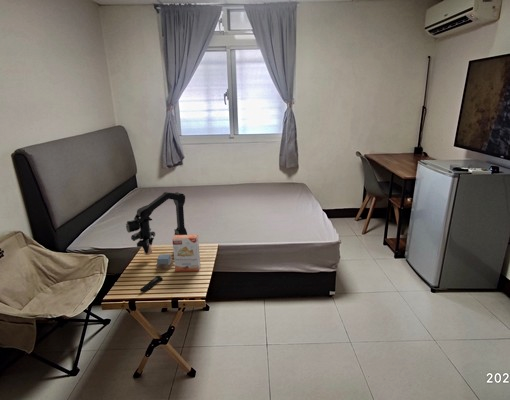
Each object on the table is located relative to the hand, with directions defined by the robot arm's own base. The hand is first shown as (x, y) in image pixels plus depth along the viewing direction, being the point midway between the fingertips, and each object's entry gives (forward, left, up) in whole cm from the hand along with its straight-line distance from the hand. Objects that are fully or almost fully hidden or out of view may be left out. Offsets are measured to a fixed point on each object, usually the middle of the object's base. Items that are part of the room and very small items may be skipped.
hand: (148, 251), depth 196 cm
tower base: (-12, +9, -7) cm, 16 cm away
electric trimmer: (-11, +31, -7) cm, 34 cm away
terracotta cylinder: (0, 0, -1) cm, 1 cm away
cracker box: (-27, +14, -6) cm, 31 cm away
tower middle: (-12, +9, -3) cm, 15 cm away
